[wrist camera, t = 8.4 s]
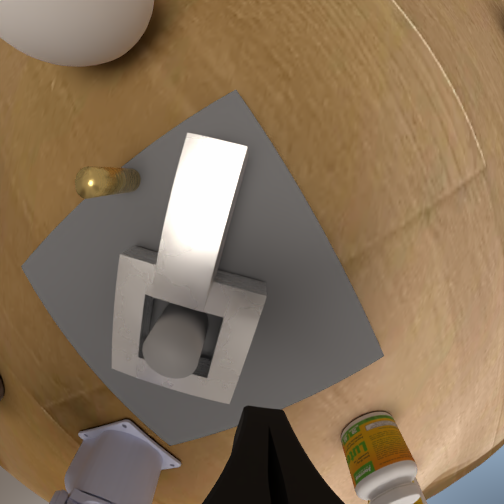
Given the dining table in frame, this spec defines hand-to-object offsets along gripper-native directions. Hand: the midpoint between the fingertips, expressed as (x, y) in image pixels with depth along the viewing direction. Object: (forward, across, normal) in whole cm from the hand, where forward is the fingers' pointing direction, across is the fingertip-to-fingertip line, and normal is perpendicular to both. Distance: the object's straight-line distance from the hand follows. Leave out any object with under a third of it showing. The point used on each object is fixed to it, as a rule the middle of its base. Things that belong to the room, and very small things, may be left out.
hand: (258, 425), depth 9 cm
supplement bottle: (+10, -13, +11) cm, 20 cm away
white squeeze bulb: (+10, +13, -16) cm, 23 cm away
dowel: (+10, +9, -7) cm, 15 cm away
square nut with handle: (+8, +4, -2) cm, 10 cm away
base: (+10, +4, +1) cm, 11 cm away
